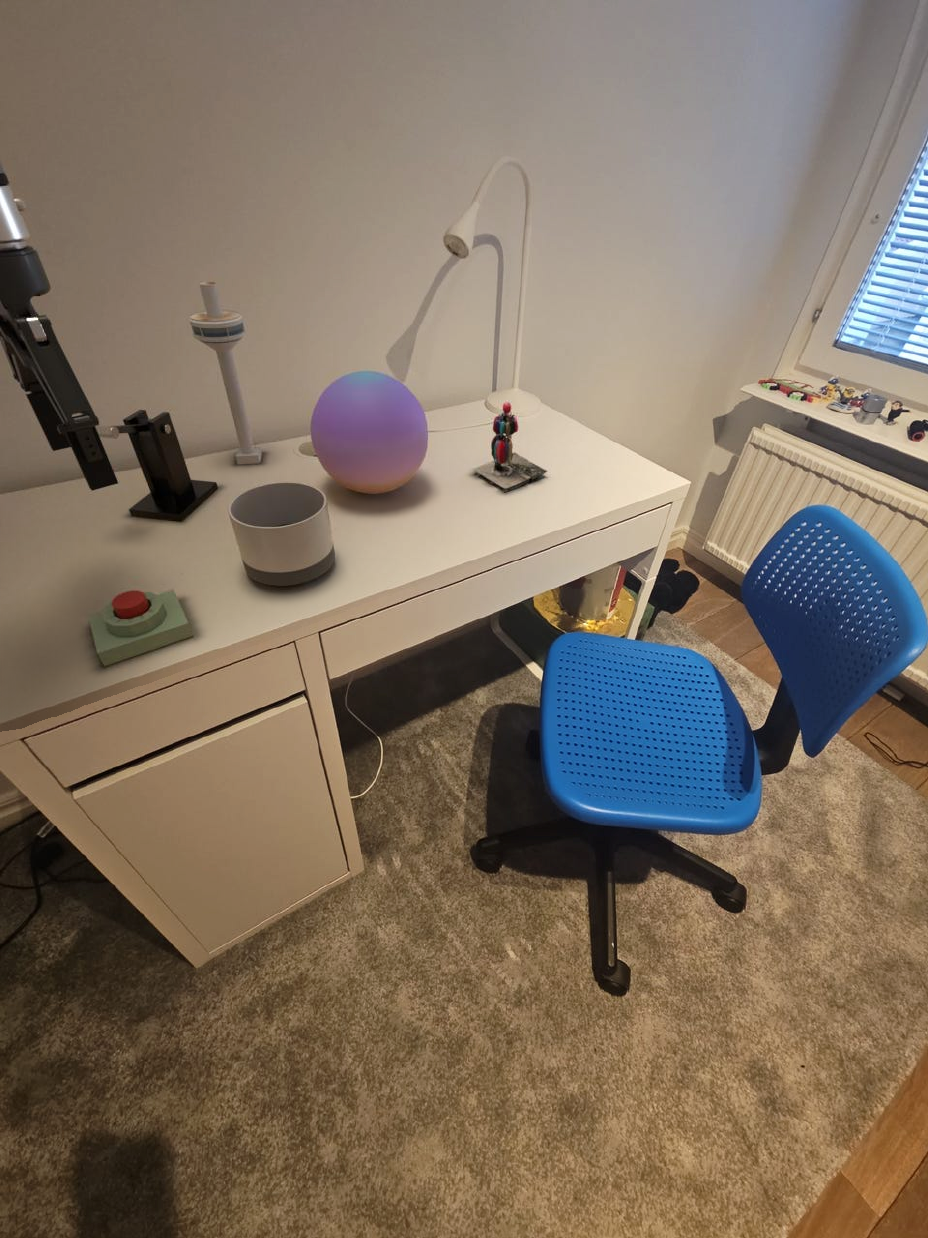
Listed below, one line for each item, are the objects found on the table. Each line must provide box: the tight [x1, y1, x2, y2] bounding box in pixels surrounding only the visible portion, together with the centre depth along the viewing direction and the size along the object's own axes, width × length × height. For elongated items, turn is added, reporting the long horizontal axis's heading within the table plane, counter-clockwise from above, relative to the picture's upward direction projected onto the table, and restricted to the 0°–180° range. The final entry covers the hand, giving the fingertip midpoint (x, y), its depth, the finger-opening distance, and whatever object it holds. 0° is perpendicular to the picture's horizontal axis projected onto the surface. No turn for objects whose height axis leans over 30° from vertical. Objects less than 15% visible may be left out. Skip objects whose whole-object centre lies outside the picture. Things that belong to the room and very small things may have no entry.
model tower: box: [188, 281, 263, 465], centre depth 97 cm, size 8×8×30 cm
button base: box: [87, 589, 194, 667], centre depth 67 cm, size 10×8×4 cm
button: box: [111, 589, 150, 619], centre depth 65 cm, size 4×4×2 cm
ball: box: [309, 370, 429, 495], centre depth 93 cm, size 20×20×20 cm
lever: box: [95, 417, 152, 439], centre depth 80 cm, size 13×6×2 cm, turn 171°
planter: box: [227, 481, 336, 587], centre depth 76 cm, size 13×13×10 cm
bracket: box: [122, 409, 219, 522], centre depth 88 cm, size 12×9×15 cm
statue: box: [473, 401, 548, 494], centre depth 100 cm, size 11×9×15 cm
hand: (83, 465), depth 63 cm, fingers open, 13 cm apart
